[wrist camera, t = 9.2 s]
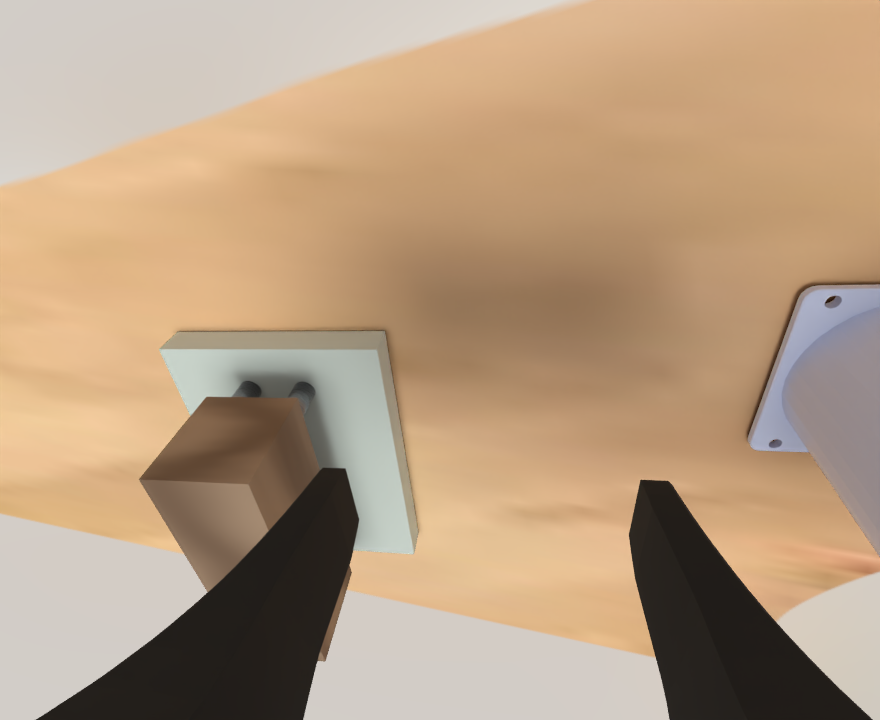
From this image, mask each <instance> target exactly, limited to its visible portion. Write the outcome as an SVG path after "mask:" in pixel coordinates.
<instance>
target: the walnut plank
mask: <svg viewBox="0 0 880 720" xmlns="http://www.w3.org/2000/svg"><path fill="white" fill-rule="evenodd" d="M319 471H320V469H319V465H318V462H317V459H316V456H315V452H314V449H313V446H312V443H311V439H310V436H309V433H308V430H307V426H306V423H305V420H304V417H303V413H302V410H301V407H300V404H299V400H298V398H257V397H206V398H205V399H204V400H203V401H202V403H201V404H200V405H199V406H198V408H197V409H196V410H195V411H194V413H193V414H192V415H191V416H190V417H189V419H188V420H187V421H186V422H185V424H184V425H183V426H182V427H181V428H180V430H179V431H178V432H177V433H176V435H175V436H174V437H173V438H172V440H171V441H170V442H169V443H168V444H167V446H166V447H165V448H164V449H163V451H162V452H161V453H160V454H159V455H158V457H157V458H156V459H155V460H154V462H153V463H152V464H151V465H150V467H149V468H148V469H147V470H146V471H145V473H144V474H143V475H142V476H141V478H140V479H139V480H140V482H141V484H142V485H143V487H144V488H145V490H146V492H147V493H148V495H149V497H150V498H151V500H152V502H153V503H154V505H155V507H156V508H157V510H158V511H159V513H160V515H161V516H162V518H163V520H164V521H165V523H166V525H167V526H168V528H169V529H170V531H171V533H172V534H173V536H174V538H175V539H176V541H177V543H178V544H179V546H180V548H181V549H182V551H183V552H184V554H185V556H186V557H187V559H188V561H189V562H190V564H191V566H192V567H193V569H194V570H195V572H196V574H197V575H198V577H199V579H200V580H201V582H202V584H203V585H204V587H205V589H206V590H207V592H209V591H210V590H211V589H212V588H213V587H214V586H215V585H216V584H217V583H219V582H220V581H221V580H222V579H223V578H224V577H225V576H226V575H227V574H228V573H229V572H230V571H231V570H232V569H233V568H234V567H235V566H236V565H237V564H238V563H239V562H240V561H241V560H242V559H243V558H244V557H245V556H246V554H247V553H248V552H249V551H250V550H251V549H252V548H253V547H254V546H255V545H256V544H257V543H258V542H259V541H260V540H261V539H262V538H263V537H264V535H265V534H266V533H267V532H268V531H269V530H270V529H271V528H272V526H273V525H274V524H275V523H276V522H277V521H278V520H279V518H280V517H281V516H282V515H283V514H284V513H285V512H286V510H287V509H288V508H289V507H290V506H291V505H292V503H293V502H294V501H295V500H296V499H297V497H298V496H299V495H300V494H301V493H302V491H303V490H304V489H305V488H306V487H307V485H308V484H309V483H310V482H311V480H312V479H313V478H314V477H315V476H316V474H317V473H318V472H319ZM351 573H352V572H351V569H350V566H349V567H348V570H347V573H346V576H345V579H344V582H343V585H342V588H341V591H340V594H339V597H338V600H337V603H336V606H335V609H334V612H333V615H332V618H331V621H330V623H329V626H328V629H327V632H326V635H325V638H324V641H323V644H322V647H321V650H320V654H319V657H318V660H317V661H326V657H327V654H328V651H329V647H330V643H331V640H332V637H333V634H334V630H335V627H336V624H337V620H338V617H339V613H340V610H341V607H342V603H343V600H344V597H345V593H346V590H347V587H348V583H349V580H350V576H351Z"/></svg>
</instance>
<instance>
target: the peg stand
mask: <svg viewBox="0 0 880 720" xmlns="http://www.w3.org/2000/svg"><path fill="white" fill-rule="evenodd" d="M159 351H160V353H161V355H162V357H163V359H164V361H165V363H166V365H167V367H168V370H169V372H170V374H171V376H172V378H173V380H174V382H175V384H176V386H177V388H178V391H179V393H180V395H181V397H182V399H183V401H184V403H185V405H186V407H187V409H188V412H189V414H190V416H191V415H192V414H193V413H194V411H195V410H196V409H197V408H198V406H199V405H200V404H201V403H202V401H203V400H204V399H205V398H206V397H257V398H298V400H299V404H300V407H301V410H302V413H303V417H304V420H305V423H306V426H307V430H308V433H309V436H310V439H311V443H312V446H313V449H314V452H315V456H316V459H317V462H318V465H319V469H320V470H321V469H322V468H346V472H347V476H348V479H349V483H350V487H351V491H352V494H353V498H354V502H355V506H356V509H357V513H358V517H359V524H358V529H357V534H356V539H355V544H354V548H353V550H356V551H372V552H387V553H403V554H414V552H415V547H416V542H417V537H418V527H417V521H416V515H415V509H414V503H413V497H412V491H411V485H410V479H409V473H408V467H407V461H406V455H405V449H404V443H403V437H402V431H401V425H400V419H399V413H398V407H397V401H396V395H395V389H394V383H393V377H392V371H391V365H390V359H389V353H388V347H387V341H386V335H385V331H246V332H177V333H176V334H175V335H174V336H173V337H172V338H170V339H169V340H168V341H167V342H166V343H165V344H164V345H163V346H162V347H161V348H160V349H159Z"/></svg>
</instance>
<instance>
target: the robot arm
mask: <svg viewBox="0 0 880 720" xmlns="http://www.w3.org/2000/svg"><path fill="white" fill-rule="evenodd" d="M835 295H836V297H835V299H834V300H833V301H831V302H829V303H825V301H826V300H827V299H828V298H830V297H831V296H835ZM775 439H777V440H775ZM772 440H775V441H772ZM770 441H772V442H770ZM748 442H749V444H750V446H751V448H753V449H754V450H758V451H786V452H810V454H811V455H812V457H813V458H814V460H815V461H816V463H817V464H818V466H819V467H820V469H821V470H822V472H823V473H824V475H825V476H826V478H827V479H828V481H829V482H830V484H831V485H832V487H833V488H834V490H835V491H836V493H837V494H838V496H839V497H840V499H841V500H842V502H843V503H844V505H845V506H846V508H847V509H848V511H849V512H850V514H851V515H852V517H853V518H854V520H855V521H856V523H857V524H858V526H859V527H860V529H861V530H862V532H863V533H864V535H865V536H866V538H867V539H868V541H869V542H870V543H871V545H872V546H873V548H874V549H875V551H876V552H877V554H878V555H879V557H880V284H876V285H818V286H812V287H810V288H807V289H806V290H804V291H803V292H802V293H801V294H800V296H799V298H798V300H797V303H796V306H795V309H794V311H793V314H792V317H791V320H790V322H789V325H788V328H787V331H786V334H785V336H784V339H783V342H782V345H781V347H780V350H779V353H778V356H777V358H776V361H775V364H774V367H773V369H772V372H771V375H770V378H769V381H768V383H767V386H766V389H765V392H764V394H763V397H762V400H761V403H760V405H759V408H758V411H757V414H756V416H755V419H754V422H753V425H752V427H751V430H750V433H749V436H748ZM358 524H359V517H358V513H357V509H356V506H355V502H354V498H353V494H352V491H351V487H350V483H349V479H348V476H347V472H346V468H322V469H321V470H320V471H319V472H318V473H317V474H316V476H315V477H314V478H313V479H312V480H311V482H310V483H309V484H308V485H307V487H306V488H305V489H304V490H303V491H302V493H301V494H300V495H299V496H298V497H297V499H296V500H295V501H294V502H293V503H292V505H291V506H290V507H289V508H288V509H287V510H286V512H285V513H284V514H283V515H282V516H281V517H280V518H279V520H278V521H277V522H276V523H275V524H274V525H273V526H272V528H271V529H270V530H269V531H268V532H267V533H266V534H265V535H264V537H263V538H262V539H261V540H260V541H259V542H258V543H257V544H256V545H255V546H254V547H253V548H252V549H251V550H250V551H249V552H248V553H247V554H246V556H245V557H244V558H243V559H242V560H241V561H240V562H239V563H238V564H237V565H236V566H235V567H234V568H233V569H232V570H231V571H230V572H229V573H228V574H227V575H226V576H225V577H224V578H223V579H222V580H221V581H220V582H219V583H217V584H216V585H215V586H214V587H213V588H212V589H211V590H210V591H209V592H208V593H207V594H206V595H204V596H203V597H202V598H201V599H200V600H199V601H198V602H197V603H196V604H194V605H193V606H192V607H191V608H190V609H188V610H187V611H186V612H185V613H184V614H183V615H181V616H180V617H179V618H178V619H177V620H175V621H174V622H173V623H172V624H171V625H170V626H168V627H167V628H166V629H165V630H163V631H162V632H161V633H160V634H159V635H157V636H156V637H155V638H153V639H152V640H151V641H150V642H148V643H147V644H145V645H144V646H143V647H141V648H140V649H139V650H138V651H136V652H135V653H134V654H132V655H131V656H130V657H128V658H127V659H125V660H124V661H123V662H121V663H120V664H119V665H117V666H116V667H115V668H113V669H112V670H110V671H109V672H108V673H106V674H105V675H103V676H102V677H101V678H99V679H98V680H96V681H95V682H93V683H92V684H90V685H89V686H87V687H86V688H84V689H83V690H81V691H80V692H78V693H77V694H75V695H73V696H72V697H71V698H69V699H67V700H66V701H64V702H63V703H61V704H60V705H58V706H57V707H55V708H54V709H52V710H51V711H49V712H48V713H46V714H44V715H43V716H41V717H39V718H38V719H36V720H303V717H304V713H305V709H306V705H307V701H308V696H309V692H310V688H311V684H312V680H313V676H314V672H315V667H316V664H317V660H318V657H319V654H320V650H321V647H322V644H323V641H324V638H325V635H326V632H327V629H328V626H329V623H330V621H331V618H332V615H333V612H334V609H335V606H336V603H337V600H338V597H339V594H340V591H341V588H342V585H343V582H344V579H345V576H346V573H347V570H348V567H349V564H350V561H351V557H352V553H353V548H354V544H355V539H356V534H357V529H358ZM629 539H630V546H631V554H632V561H633V567H634V574H635V579H636V583H637V587H638V591H639V595H640V599H641V603H642V607H643V611H644V614H645V618H646V622H647V626H648V630H649V633H650V637H651V641H652V645H653V649H654V652H655V656H656V660H657V664H658V667H659V671H660V674H661V679H662V683H663V688H664V692H665V697H666V701H667V707H668V713H669V719H670V720H872V719H871V718H870V717H869V716H868V715H867V714H866V713H865V712H864V711H863V710H862V709H861V708H860V707H858V706H857V705H856V704H855V703H854V702H853V701H852V700H851V699H850V698H849V697H848V696H847V695H846V694H845V693H844V692H842V691H841V690H840V689H839V688H838V687H837V686H836V685H835V684H834V683H833V682H832V681H831V680H830V679H829V678H828V677H827V676H826V675H825V674H824V673H823V672H822V671H821V669H819V667H817V666H816V664H815V663H814V662H813V661H812V660H811V659H810V658H809V657H808V656H807V655H806V654H805V653H804V652H803V651H802V650H801V649H800V648H799V647H798V646H797V645H796V643H795V642H794V641H793V640H792V639H791V638H790V637H789V636H788V635H787V634H786V633H785V632H784V631H783V629H782V628H781V627H780V626H779V625H778V624H777V623H776V622H775V620H774V619H773V618H772V617H771V616H770V615H769V614H768V612H767V611H766V610H765V609H764V608H763V607H762V605H761V604H760V603H759V602H758V601H757V599H756V598H755V597H754V596H753V595H752V593H751V592H750V591H749V590H748V589H747V587H746V586H745V585H744V584H743V583H742V581H741V580H740V579H739V578H738V576H737V575H736V574H735V573H734V571H733V570H732V569H731V567H730V566H729V565H728V563H727V562H726V561H725V559H724V558H723V557H722V556H721V554H720V553H719V552H718V550H717V549H716V548H715V546H714V545H713V544H712V542H711V541H710V540H709V538H708V537H707V535H706V534H705V533H704V531H703V530H702V528H701V527H700V526H699V524H698V523H697V521H696V520H695V519H694V517H693V516H692V514H691V513H690V511H689V510H688V508H687V507H686V505H685V504H684V502H683V501H682V499H681V498H680V496H679V495H678V493H677V492H676V490H675V488H674V487H673V485H672V484H671V483H670V482H669V481H655V480H640V485H639V490H638V494H637V499H636V504H635V509H634V513H633V518H632V523H631V528H630V532H629Z"/></svg>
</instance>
